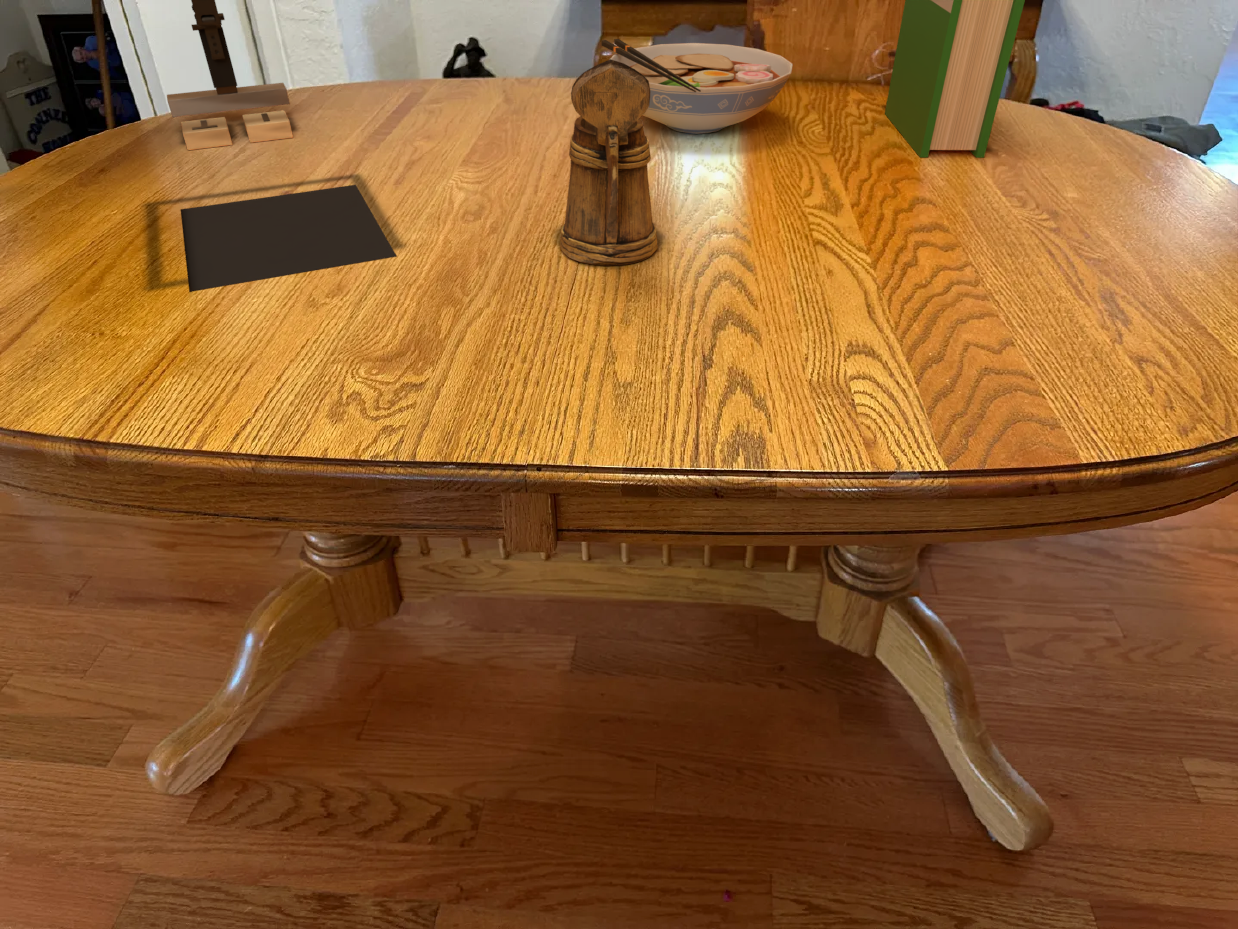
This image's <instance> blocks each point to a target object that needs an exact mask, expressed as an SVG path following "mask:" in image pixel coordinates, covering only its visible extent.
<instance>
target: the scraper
mask: <svg viewBox="0 0 1238 929" xmlns="http://www.w3.org/2000/svg"><path fill="white" fill-rule="evenodd" d="M166 101H167V105H168V109H169V110H170V114H171V117H172V118H180V117H187V116H189V117H190V116H197V115H198V116H199V115H205V114H206V115H207V114H208V115H209V114H216V113H226V112H232V111H234V112H235V111H243V110H244V111H245V110H251V109H260V108H270V107H278V106H289V105H290V104H291V103H290V99H289V94H288V90H287V87H286V85H285V83H284V82H276V83H266V84H256V85H247V86H230V87H221V88H215V89H209V90H198V91H190V92H180V93H170V94H169V93H167V94H166Z"/></svg>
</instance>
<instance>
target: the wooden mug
mask: <svg viewBox="0 0 1238 929" xmlns="http://www.w3.org/2000/svg"><path fill="white" fill-rule="evenodd" d="M609 59H610V58H609ZM609 59H608V60H605V61H603V62H601V63H598V64H596V65H595V66H592V67H591V68H588V69H587V70H585V71H584V72H582V73H581V74H580V76H578V77H577V78H576V79H575V81H574V83H573V84H572V87H571V91H570V100H571V103H572V106H573V108H574V110H575V112H576V114H578V115H579V116H578V117H577V118H576V119H575V120H574V126H573V134H571V136H570V141H569V151H568V156H569V159H570V169H569V179H568V180H569V181H568V190H567V197H566V208H565V216H564V217H565V218H564V223H563V224H562V227H561V230H560V241H559V242H560V243H559V245H560V251H561V252H562V253H563V254H564V255H565V256H567V258H569V259H571V260H573V261H576V262H578V263H581V264H585V265H591V266H601V267H609V266H617V267H620V266H627V265H632V264H635V263H639V262H641V261H642V262H643V261H644V260H645V261H646V260H647V259H649V258H651V256H652V255H653V254H654V253H655V252H656V251H657V250H658V236H657V227H656V225H655V223H654V220H653V213H652V212H653V211H652V203H651V195H650V194H651V193H650V185H649V184H650V183H649V175H648V174H649V172H648V164H649V163H650V162H651V159H652V156H651V155H652V154H651V148H650V147H651V146H650V141H649V139H648V137H647V135H646V132H645V127H644V120H643V119H642V118H641V117H642V116H643V114H644V113H645V112H646V110H647V109H648V107H649V103H650V86H649V81H648V80H647V79H646V78H645V77H644V76H643V75H642V74H641V73H639V72H638V71H636V70H635V69H633V68H631V67H630V66H628V65H626V64H624V63H621V62H618V61H615V60H611V59H610V60H609Z"/></svg>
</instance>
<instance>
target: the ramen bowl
mask: <svg viewBox="0 0 1238 929" xmlns="http://www.w3.org/2000/svg"><path fill="white" fill-rule="evenodd" d="M600 44H601V45H600V46H601V47H603V48H606V49H608V50H609V51H612V52H614V53H615V54H613V55H612V56H611V57H610V58H609V59H608V60H610V59H611V60H615V61H618V62H621V63H624V64H626V65H628V66H630V67H631V68H633V69H635V70H636V71H638V72H639V73H641V74H642V75H643V76H644V77H645V78H646V79H647V80H648V81H649V86H650V103H649V107H648V109H647V110H646V112H645V113H644V114H643V115H642V116H643V117H646V118H648V119H650V120H653V121H655V122H657V123H660V124H662V125H665V126H666V127H667V128H669V129H671V130H673V131H675V132H678V133H679V132H680V133H685V134H694V135H695V134H696V135H699V134H700V135H701V134H711V133H717V132H720V131H721V130H723V129H725V128H727V127H730V126H733V125H736V124H739V123H742V122H744V121H747V120H748V119H750V118H753V117H754V116H756V115H757V114H759V113H760V112H762V111H763V110H765V109H766V108H767V107H768V106H769V105H770V104H771V103H772V102H773V101H774V100H775V99H776V98H777V96H778V95H779V93H780V92H781V91H782V89H783V88H784V86H785V85H786V84H787V81H788V80H789V78H790V76H791V74H792V70H793V64H794V63H792V62H791V61H789V60H788V59H786V58H785V57H783V56H782V55H780V54H777V53H773V52H769V51H766V50H763V49H760V48H754V47H748V46H747V47H746V46H740V45H734V44H733V45H732V44H723V43H703V42H702V43H701V42H688V43H687V42H685V43H661V44H654V45H648V46H641V47H633V46H630V45H629V44H628V43H626V42H624V41H623V40H621V39H620V38H614V39H613V43H612V42H610V41H608V40H607V39H602V40H601V41H600Z"/></svg>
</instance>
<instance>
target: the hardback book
mask: <svg viewBox="0 0 1238 929" xmlns="http://www.w3.org/2000/svg"><path fill="white" fill-rule="evenodd" d="M1025 1H1026V0H904V5H903V6H904V7H903V11H902V16H901V22H900V27H899V32H898V38H897V44H896V50H895V54H894V60H893V67H892V70H891V71H892V72H891V77H890V82H889V88H888V92H887V93H888V94H887V99H886V104H885V110H884V115H885V116H886V118H887V119H888V120H889V121H890V122H891V124H892V125H893V126H894V127H895V128H896V130H897V131H898V132H899V134H900V135H901V136H902V138H904V140H905V141H906V143H907V144H908V145H909V146H910V147H911V148H912V150H913V151H914V153H915V154H916V155H917V156H918V157H919V158H929V154H930V151H969V152H970V153H971V154H972V155H973V156H974V158H976V159H984V158H985V155H986V151H987V148H988V144H989V141H990V140H989V139H990V137H991V133H992V129H993V125H994V121H995V117H996V113H997V109H998V106H999V102H1000V97H1001V94H1002V90H1003V86H1004V82H1005V78H1006V75H1007V71H1008V67H1009V63H1010V59H1011V55H1012V52H1013V47H1014V44H1015V40H1016V36H1017V32H1018V29H1019V24H1020V20H1021V18H1022V13H1023V9H1024V5H1025Z"/></svg>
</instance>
